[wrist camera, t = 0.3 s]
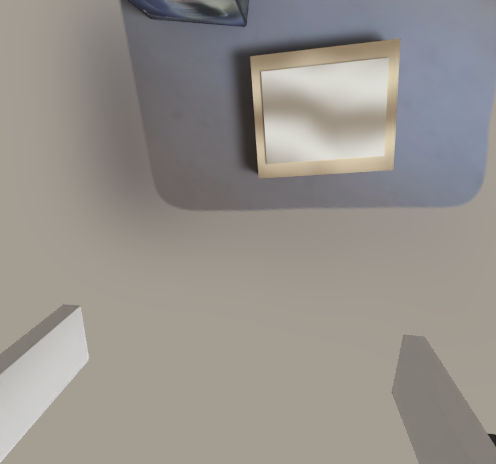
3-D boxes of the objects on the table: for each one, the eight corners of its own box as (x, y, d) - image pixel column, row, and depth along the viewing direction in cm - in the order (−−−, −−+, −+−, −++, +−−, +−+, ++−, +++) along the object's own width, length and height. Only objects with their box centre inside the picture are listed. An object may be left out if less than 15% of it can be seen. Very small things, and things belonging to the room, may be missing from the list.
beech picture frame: (252, 61, 34) (249, 55, 31) (392, 45, 32) (401, 38, 29) (260, 175, 37) (258, 178, 35) (386, 167, 35) (394, 170, 33)
